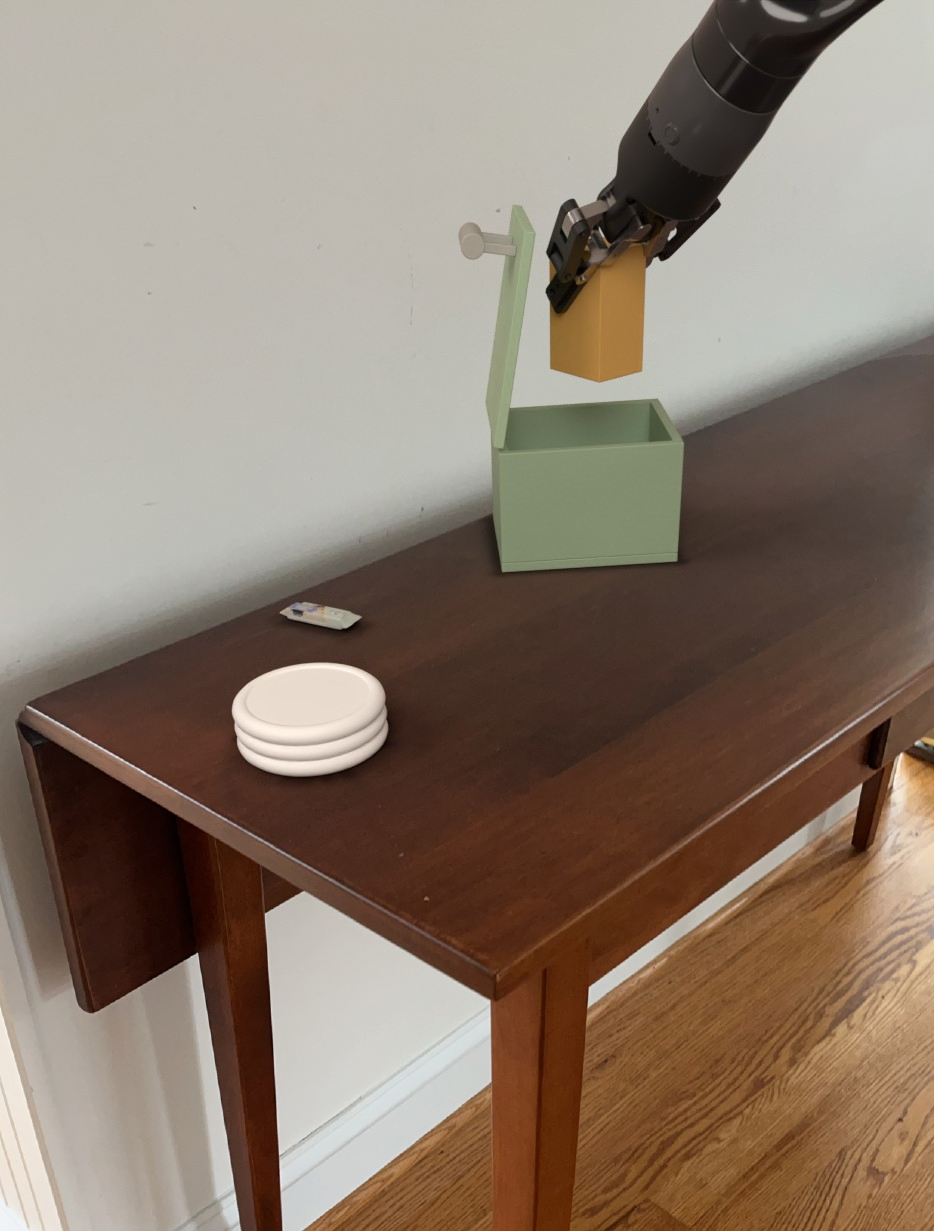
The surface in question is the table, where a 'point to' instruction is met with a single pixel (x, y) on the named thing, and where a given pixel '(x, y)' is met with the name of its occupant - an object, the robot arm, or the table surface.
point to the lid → (504, 308)
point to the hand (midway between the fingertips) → (580, 297)
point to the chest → (587, 486)
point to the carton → (603, 321)
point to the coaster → (310, 719)
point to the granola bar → (320, 615)
